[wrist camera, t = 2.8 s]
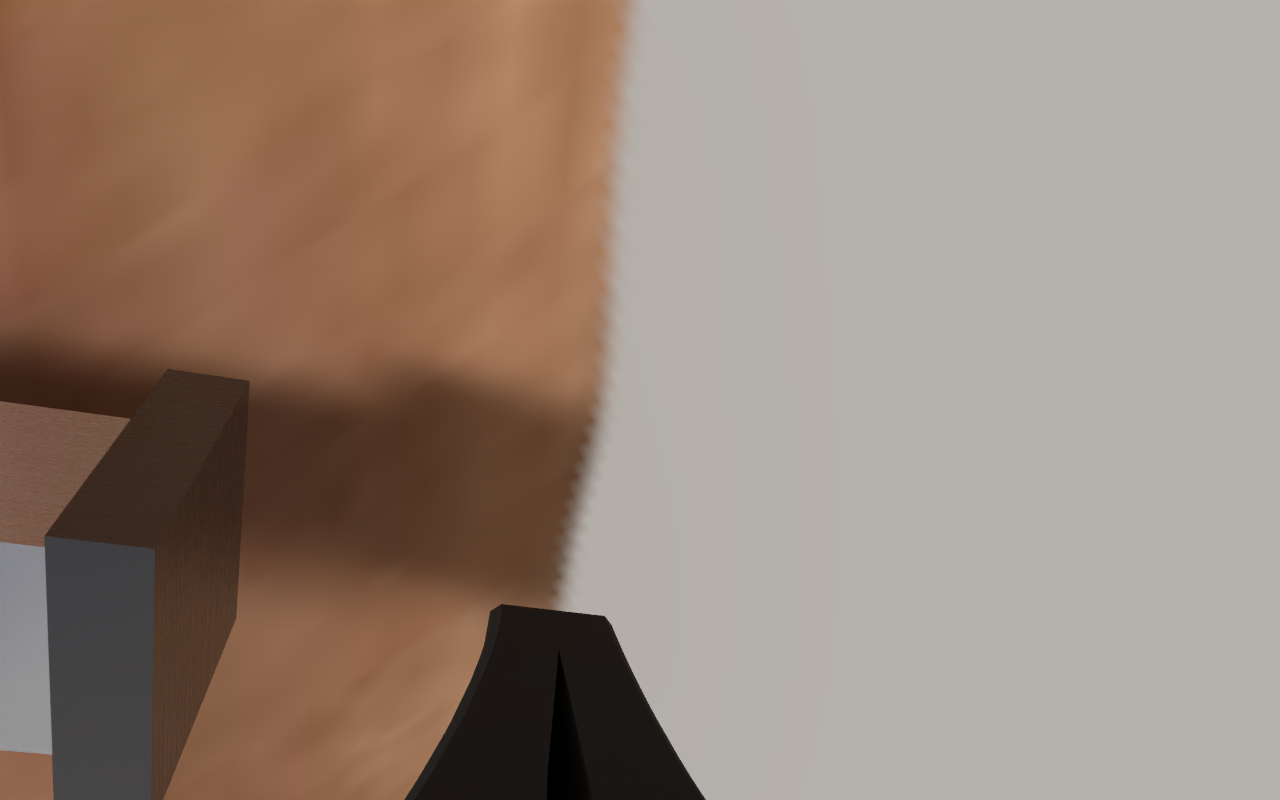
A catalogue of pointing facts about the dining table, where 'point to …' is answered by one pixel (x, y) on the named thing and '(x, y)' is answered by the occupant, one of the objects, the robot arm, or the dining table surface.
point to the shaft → (118, 579)
